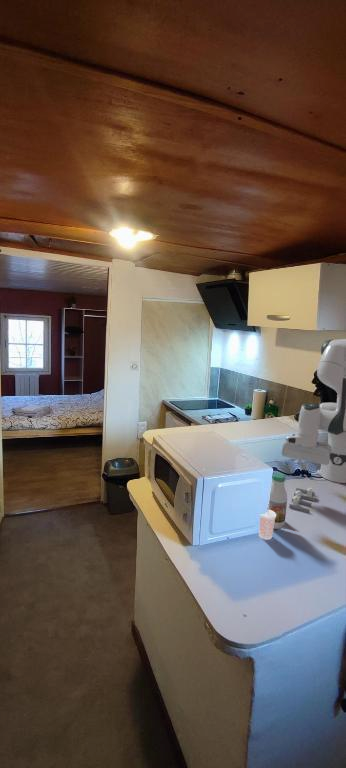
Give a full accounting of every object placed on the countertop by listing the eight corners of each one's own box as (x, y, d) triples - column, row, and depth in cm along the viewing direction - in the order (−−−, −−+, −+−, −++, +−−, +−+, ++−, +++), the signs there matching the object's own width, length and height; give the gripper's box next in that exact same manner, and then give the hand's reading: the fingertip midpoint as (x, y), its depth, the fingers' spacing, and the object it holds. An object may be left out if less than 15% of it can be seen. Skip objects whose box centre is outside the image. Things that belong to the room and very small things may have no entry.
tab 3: (307, 494, 164) (308, 486, 163) (311, 496, 163) (312, 487, 162) (306, 497, 161) (307, 488, 161) (311, 498, 160) (312, 490, 160)
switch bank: (295, 490, 171) (296, 485, 170) (316, 495, 166) (316, 490, 166) (286, 512, 149) (287, 506, 149) (309, 518, 145) (310, 512, 145)
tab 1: (295, 497, 160) (296, 489, 160) (300, 499, 160) (301, 490, 159) (294, 500, 158) (295, 491, 157) (299, 501, 157) (300, 493, 156)
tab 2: (293, 503, 155) (294, 494, 154) (298, 504, 154) (299, 495, 154) (292, 506, 153) (293, 497, 152) (297, 507, 152) (298, 498, 151)
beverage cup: (256, 539, 129) (260, 502, 127) (256, 529, 135) (260, 495, 133) (274, 542, 128) (278, 505, 126) (273, 532, 134) (277, 497, 132)
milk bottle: (259, 520, 142) (264, 472, 139) (275, 517, 145) (280, 470, 142) (272, 531, 135) (278, 481, 132) (288, 527, 138) (294, 478, 135)
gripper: (333, 442, 158) (329, 471, 160) (285, 433, 167) (282, 461, 169) (332, 446, 152) (328, 477, 155) (282, 437, 161) (279, 466, 164)
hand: (303, 469), depth 162 cm, fingers closed
